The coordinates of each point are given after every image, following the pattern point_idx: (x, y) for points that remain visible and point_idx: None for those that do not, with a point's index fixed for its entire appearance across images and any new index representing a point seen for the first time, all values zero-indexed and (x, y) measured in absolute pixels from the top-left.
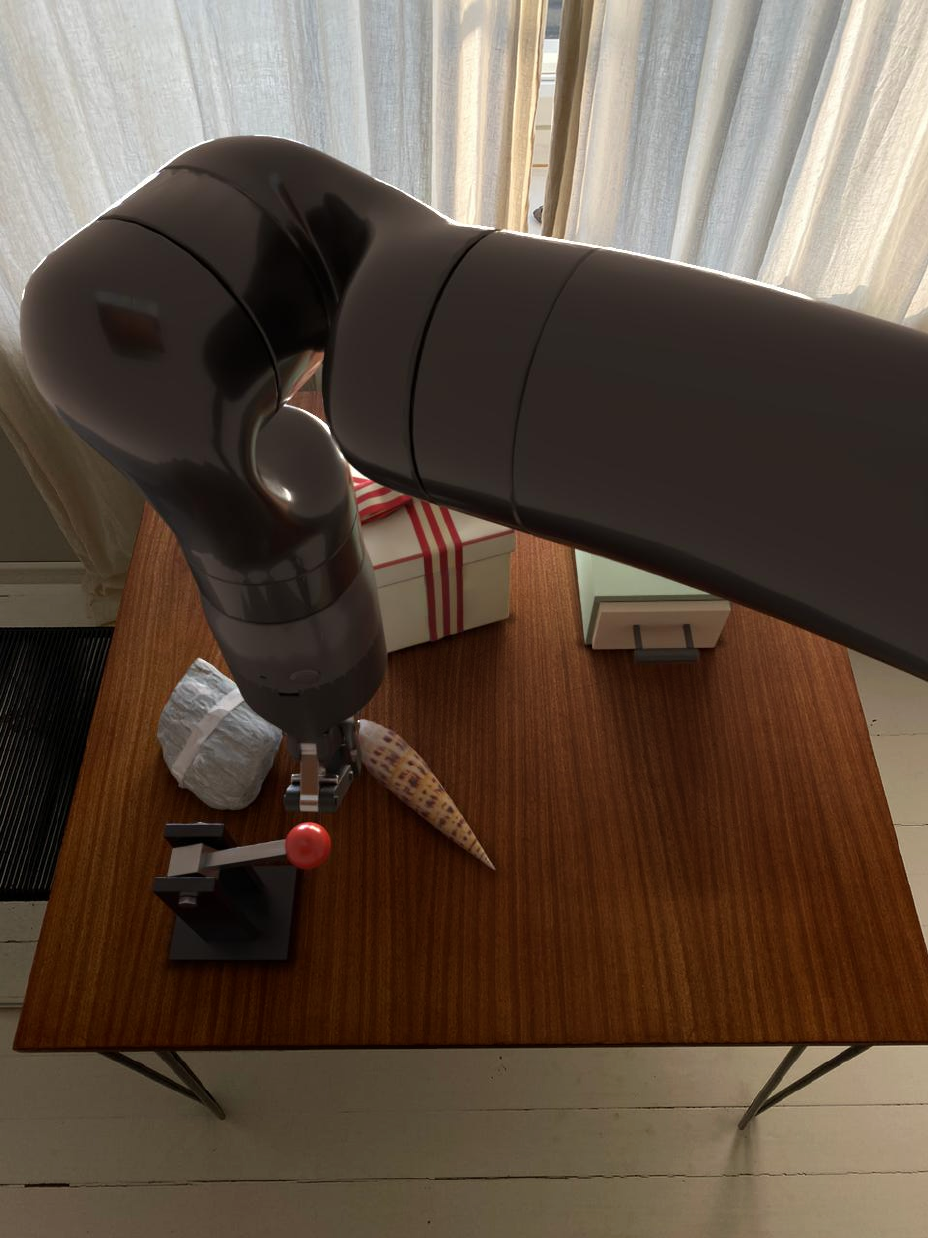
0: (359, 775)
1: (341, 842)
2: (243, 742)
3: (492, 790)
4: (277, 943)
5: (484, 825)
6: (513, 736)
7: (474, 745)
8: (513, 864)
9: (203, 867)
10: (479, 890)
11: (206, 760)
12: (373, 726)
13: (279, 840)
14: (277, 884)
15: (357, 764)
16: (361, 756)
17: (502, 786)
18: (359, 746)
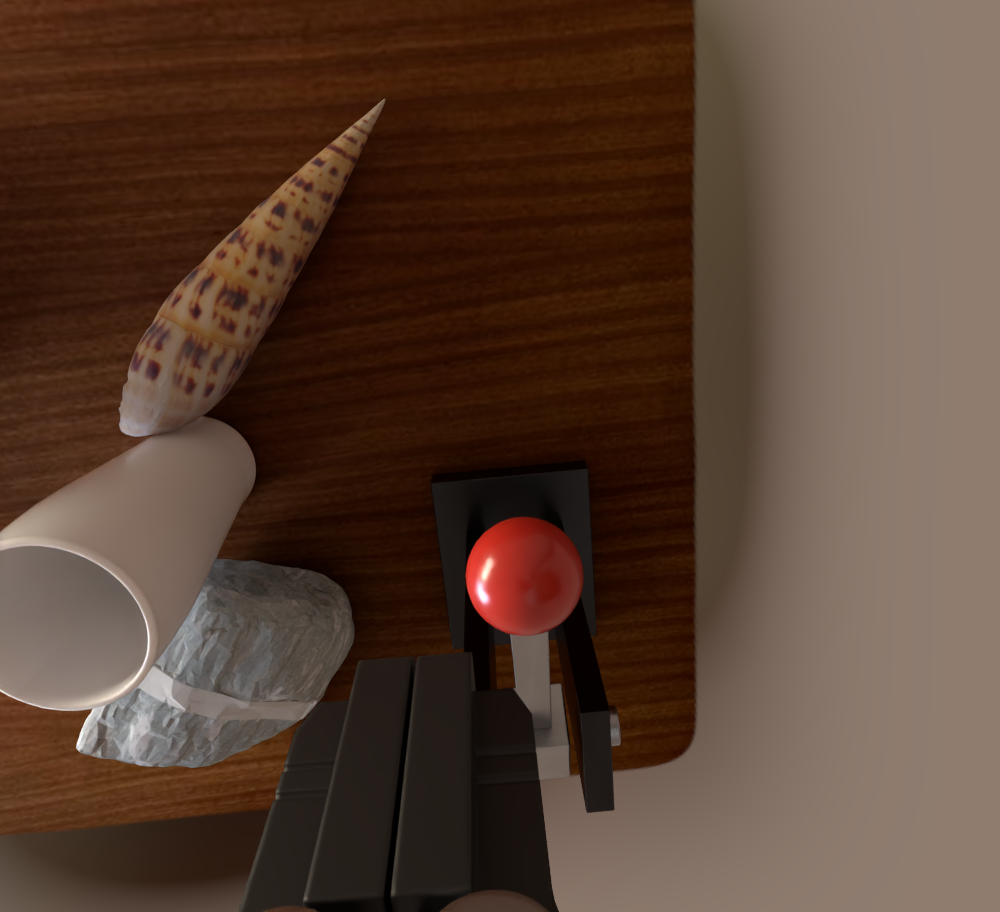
0: (469, 663)
1: (372, 413)
2: (230, 642)
3: (209, 120)
4: (562, 487)
5: (291, 132)
6: (66, 77)
7: (113, 171)
8: (364, 58)
9: (553, 731)
10: (428, 132)
11: (277, 685)
12: (130, 405)
13: (510, 634)
14: (466, 508)
15: (462, 746)
16: (372, 677)
17: (195, 97)
18: (349, 751)
